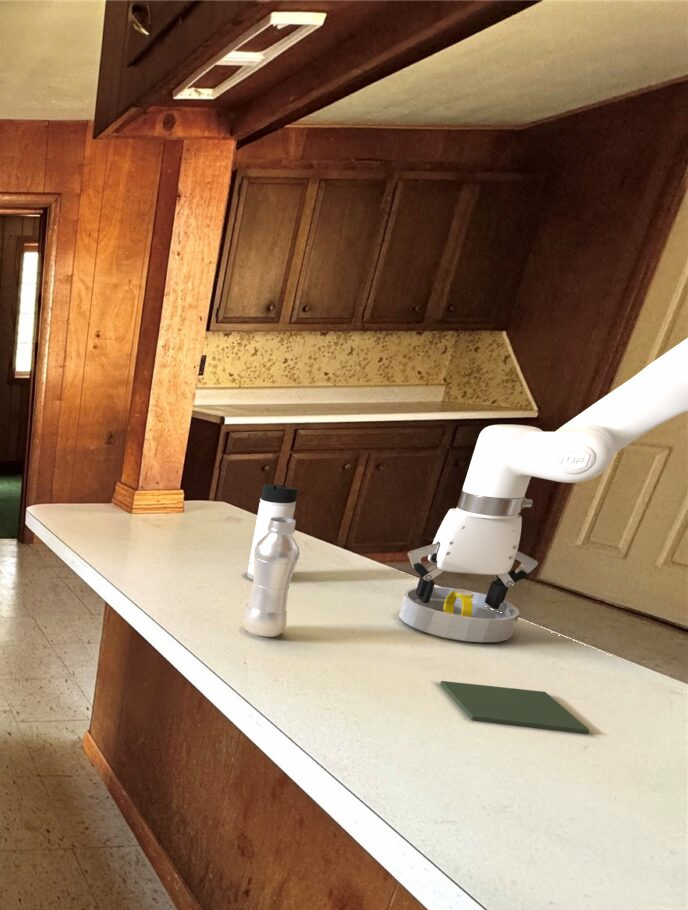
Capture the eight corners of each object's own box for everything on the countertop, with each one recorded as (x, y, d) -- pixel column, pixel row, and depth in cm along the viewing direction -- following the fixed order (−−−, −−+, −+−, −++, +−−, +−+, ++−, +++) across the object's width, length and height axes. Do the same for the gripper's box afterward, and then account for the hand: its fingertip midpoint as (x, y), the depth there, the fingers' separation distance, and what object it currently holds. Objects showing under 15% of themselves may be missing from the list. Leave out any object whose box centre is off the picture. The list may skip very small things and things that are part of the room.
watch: (435, 616, 116) (444, 584, 114) (453, 617, 115) (463, 585, 113) (451, 630, 111) (462, 597, 109) (471, 631, 110) (482, 598, 108)
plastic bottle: (261, 643, 109) (283, 527, 102) (231, 628, 116) (250, 517, 108) (292, 638, 111) (317, 522, 104) (261, 623, 117) (282, 513, 110)
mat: (543, 695, 92) (545, 691, 91) (587, 733, 83) (589, 729, 83) (439, 684, 95) (441, 680, 95) (471, 719, 87) (472, 716, 86)
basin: (484, 614, 118) (492, 590, 116) (529, 649, 104) (539, 623, 103) (385, 606, 122) (391, 583, 121) (416, 639, 109) (424, 614, 107)
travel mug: (238, 576, 139) (255, 482, 132) (260, 571, 142) (277, 478, 135) (265, 585, 134) (284, 488, 127) (287, 579, 137) (306, 484, 129)
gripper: (543, 502, 106) (508, 600, 113) (415, 496, 112) (388, 590, 118) (570, 513, 100) (531, 617, 106) (433, 507, 105) (404, 606, 111)
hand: (456, 603), depth 112 cm, fingers open, 9 cm apart
